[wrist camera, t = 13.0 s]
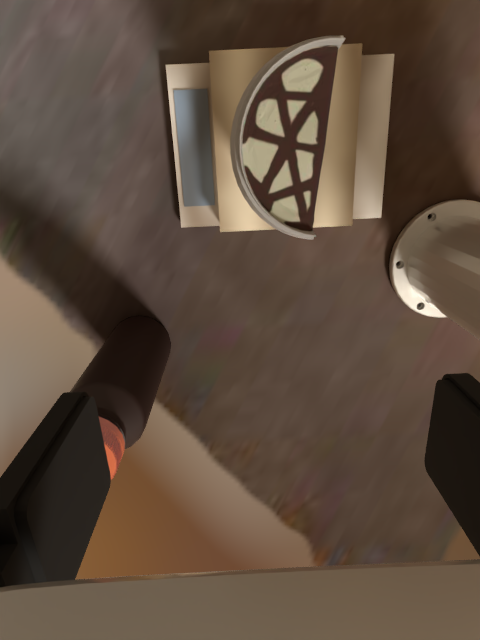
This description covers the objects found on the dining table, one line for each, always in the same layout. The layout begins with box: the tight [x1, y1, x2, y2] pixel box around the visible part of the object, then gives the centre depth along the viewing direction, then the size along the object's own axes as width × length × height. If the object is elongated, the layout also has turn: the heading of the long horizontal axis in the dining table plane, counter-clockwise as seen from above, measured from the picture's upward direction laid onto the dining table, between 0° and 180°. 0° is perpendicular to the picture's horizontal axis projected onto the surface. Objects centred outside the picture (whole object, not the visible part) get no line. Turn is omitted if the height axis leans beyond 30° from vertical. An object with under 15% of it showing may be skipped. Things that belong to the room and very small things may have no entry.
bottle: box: [70, 316, 171, 479], centre depth 37 cm, size 7×7×20 cm
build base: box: [166, 43, 394, 232], centre depth 37 cm, size 20×14×6 cm
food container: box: [230, 36, 345, 240], centre depth 29 cm, size 12×6×10 cm, turn 175°
